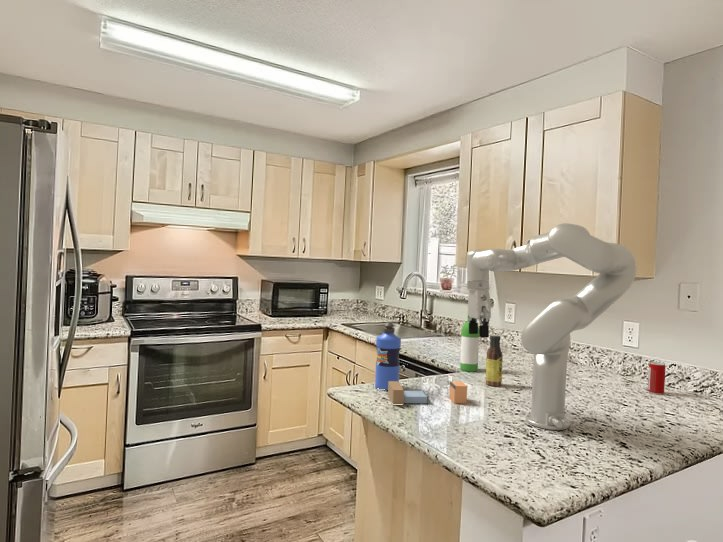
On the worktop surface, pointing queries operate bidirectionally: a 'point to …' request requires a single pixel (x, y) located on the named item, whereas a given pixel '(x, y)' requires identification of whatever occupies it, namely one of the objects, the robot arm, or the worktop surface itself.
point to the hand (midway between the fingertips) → (478, 335)
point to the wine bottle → (469, 349)
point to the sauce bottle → (494, 362)
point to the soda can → (656, 378)
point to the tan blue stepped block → (405, 394)
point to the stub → (458, 392)
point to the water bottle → (387, 357)
